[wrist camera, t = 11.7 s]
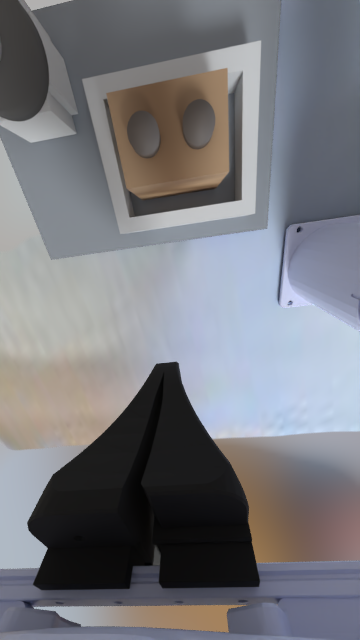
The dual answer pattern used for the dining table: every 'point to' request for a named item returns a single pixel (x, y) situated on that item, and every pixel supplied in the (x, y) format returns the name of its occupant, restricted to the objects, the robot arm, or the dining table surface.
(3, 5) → the wheel
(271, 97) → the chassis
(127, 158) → the block with grey pegs
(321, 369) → the dining table surface
